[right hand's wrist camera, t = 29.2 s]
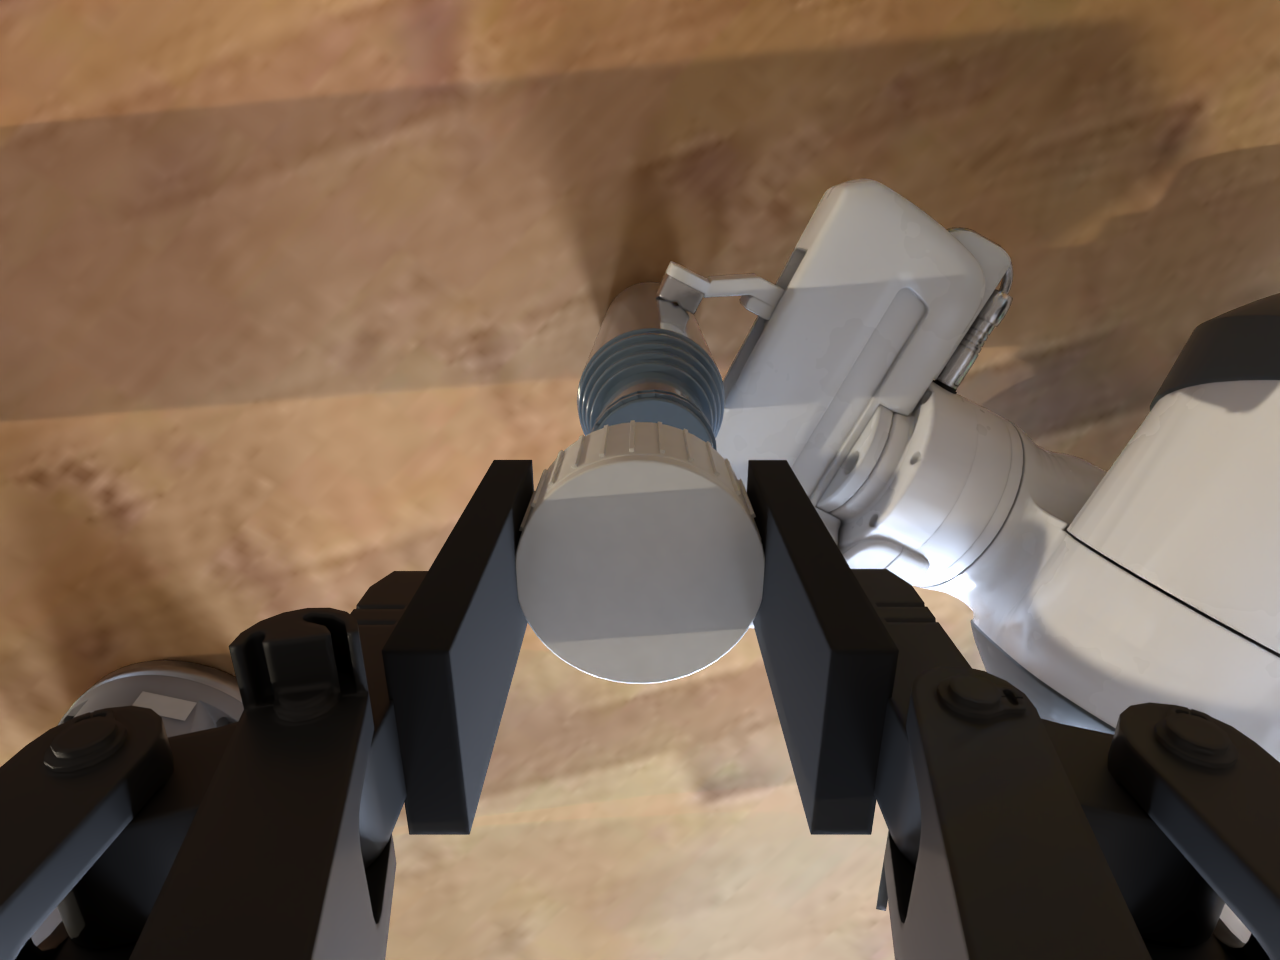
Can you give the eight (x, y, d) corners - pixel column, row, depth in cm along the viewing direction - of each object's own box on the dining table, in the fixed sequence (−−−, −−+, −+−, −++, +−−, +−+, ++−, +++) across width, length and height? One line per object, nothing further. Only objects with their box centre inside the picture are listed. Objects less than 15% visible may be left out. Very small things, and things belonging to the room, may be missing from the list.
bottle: (660, 262, 36) (675, 324, 16) (713, 339, 37) (784, 480, 18) (585, 318, 37) (517, 438, 18) (639, 391, 38) (631, 577, 19)
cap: (645, 656, 16) (645, 728, 13) (484, 528, 14) (457, 584, 12) (795, 519, 14) (823, 574, 12) (633, 370, 13) (632, 401, 11)
